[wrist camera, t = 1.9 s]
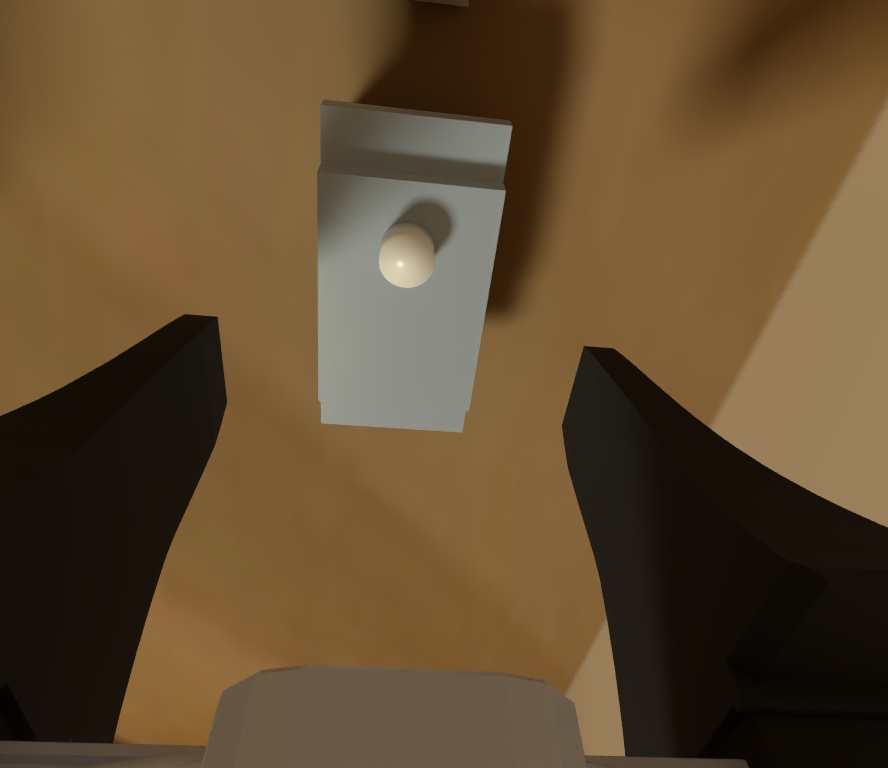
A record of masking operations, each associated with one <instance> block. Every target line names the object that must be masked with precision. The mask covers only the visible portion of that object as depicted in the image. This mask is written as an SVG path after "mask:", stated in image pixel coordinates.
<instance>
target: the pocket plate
mask: <svg viewBox="0 0 888 768" xmlns="http://www.w3.org/2000/svg"><path fill="white" fill-rule="evenodd" d="M414 1H422V2H430V3H438V4H447V5H455V6H463V7H469V0H414Z"/></svg>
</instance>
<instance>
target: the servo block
mask: <svg viewBox="0 0 888 768" xmlns="http://www.w3.org/2000/svg"><path fill="white" fill-rule="evenodd" d="M512 127H513V126H512V124H511V122H510V120H503V119H494V118H485V117H476V116H467V115H458V114H449V113H440V112H431V111H422V110H413V109H404V108H395V107H386V106H377V105H368V104H359V103H350V102H341V101H331V100H323V102H322V103H321V165H320V167H319V169H318V172H317V191H318V401H321V423H327V424H342V425H357V426H372V427H387V428H402V429H418V430H433V431H448V432H462V430H463V424H464V418H465V412H466V411H469V408H470V402H471V396H472V390H473V384H474V378H475V372H476V366H477V360H478V354H479V348H480V342H481V336H482V330H483V324H484V319H485V313H486V307H487V301H488V295H489V289H490V283H491V277H492V271H493V265H494V259H495V253H496V247H497V241H498V235H499V229H500V224H501V218H502V212H503V206H504V200H505V194H506V189H505V186H504V183H503V181H504V175H505V169H506V163H507V157H508V151H509V145H510V139H511V133H512Z"/></svg>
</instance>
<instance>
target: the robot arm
mask: <svg viewBox="0 0 888 768" xmlns="http://www.w3.org/2000/svg"><path fill="white" fill-rule="evenodd" d="M226 404H227V397H226V388H225V379H224V371H223V362H222V353H221V344H220V335H219V326H218V317H213V316H200V315H188V314H185V315H183V316H181V317H179V318H177V319H175V320H174V321H172V322H170V323H169V324H167V325H166V326H164V327H162V328H161V329H159V330H158V331H156V332H155V333H153V334H151V335H150V336H148V337H147V338H145V339H144V340H142V341H141V342H139V343H137V344H136V345H134V346H133V347H131V348H129V349H128V350H126V351H125V352H123V353H121V354H120V355H118V356H117V357H115V358H113V359H112V360H110V361H108V362H107V363H105V364H103V365H101V366H100V367H98V368H96V369H94V370H93V371H91V372H89V373H87V374H85V375H84V376H82V377H80V378H78V379H77V380H75V381H73V382H71V383H69V384H68V385H66V386H64V387H62V388H60V389H58V390H56V391H54V392H52V393H50V394H48V395H46V396H44V397H42V398H40V399H38V400H36V401H33V402H31V403H29V404H27V405H25V406H22V407H20V408H18V409H16V410H13V411H11V412H9V413H6V414H4V415H2V416H0V768H888V528H887V527H885V526H883V525H880V524H878V523H876V522H874V521H871V520H869V519H867V518H865V517H862V516H860V515H858V514H856V513H853V512H851V511H849V510H847V509H845V508H842V507H840V506H838V505H836V504H834V503H832V502H830V501H828V500H826V499H824V498H822V497H820V496H818V495H816V494H814V493H812V492H810V491H809V490H807V489H805V488H803V487H801V486H800V485H798V484H796V483H794V482H792V481H790V480H788V479H787V478H785V477H783V476H781V475H779V474H778V473H776V472H774V471H773V470H771V469H769V468H768V467H766V466H764V465H762V464H761V463H760V462H758V461H756V460H755V459H753V458H752V457H750V456H749V455H747V454H746V453H744V452H742V451H741V450H739V449H738V448H736V447H735V446H733V445H732V444H730V443H729V442H728V441H726V440H725V439H723V438H722V437H720V436H719V435H718V434H716V433H715V432H714V431H713V430H711V429H710V428H709V427H707V426H706V425H705V424H703V423H702V422H701V421H699V420H698V419H697V418H695V417H694V416H693V415H692V414H691V413H689V412H688V411H687V410H686V409H684V408H683V407H682V406H681V405H680V404H678V403H677V402H676V401H675V400H674V399H672V398H671V397H670V396H669V395H668V394H667V393H665V392H664V391H663V390H662V389H661V388H660V387H658V386H657V385H656V384H655V383H654V382H653V381H652V380H651V379H649V378H648V377H647V376H646V375H645V374H644V373H643V372H641V371H640V370H639V369H638V368H637V367H636V366H635V365H633V364H632V363H631V362H630V361H629V360H628V359H626V358H625V357H624V356H623V355H622V354H620V353H619V352H618V351H616V350H615V349H613V348H601V347H588V346H584V348H583V351H582V355H581V359H580V362H579V366H578V369H577V373H576V377H575V380H574V384H573V388H572V391H571V395H570V398H569V402H568V406H567V409H566V413H565V416H564V420H563V424H562V429H563V437H564V445H565V452H566V458H567V464H568V469H569V473H570V476H571V480H572V483H573V487H574V490H575V494H576V497H577V500H578V504H579V507H580V510H581V514H582V517H583V520H584V524H585V527H586V530H587V534H588V537H589V540H590V544H591V547H592V550H593V554H594V557H595V561H596V565H597V569H598V573H599V577H600V582H601V588H602V593H603V599H604V604H605V610H606V615H607V621H608V627H609V634H610V640H611V647H612V652H613V659H614V666H615V672H616V680H617V688H618V696H619V704H620V712H621V719H622V727H623V737H624V747H625V756H586V755H584V750H583V745H582V740H581V736H580V730H579V725H578V719H577V715H576V709H575V704H574V702H572V701H571V700H570V699H568V698H567V697H566V696H564V695H563V694H562V693H560V692H559V691H558V690H556V689H555V688H553V687H552V686H551V685H549V684H548V683H546V682H545V681H543V680H540V679H535V678H530V677H525V676H519V675H514V674H509V673H503V672H475V671H447V670H419V669H391V668H363V667H335V666H308V665H303V666H294V667H285V668H276V669H267V670H261V671H259V672H257V673H256V674H254V675H252V676H250V677H248V678H246V679H244V680H243V681H241V682H239V683H237V684H235V685H233V686H232V687H230V688H228V689H226V690H225V691H223V692H222V695H221V698H220V701H219V704H218V707H217V710H216V712H215V715H214V719H213V723H212V727H211V730H210V734H209V738H208V742H207V745H206V746H189V745H149V744H113V740H114V736H115V732H116V727H117V723H118V719H119V715H120V711H121V707H122V704H123V700H124V696H125V693H126V689H127V685H128V682H129V678H130V674H131V670H132V667H133V663H134V659H135V656H136V652H137V649H138V645H139V642H140V639H141V635H142V632H143V628H144V625H145V622H146V618H147V615H148V612H149V608H150V605H151V602H152V598H153V595H154V592H155V589H156V586H157V583H158V580H159V577H160V573H161V570H162V567H163V564H164V561H165V558H166V555H167V553H168V550H169V548H170V545H171V543H172V540H173V538H174V535H175V533H176V531H177V529H178V526H179V524H180V522H181V520H182V518H183V515H184V513H185V511H186V509H187V507H188V504H189V502H190V500H191V498H192V496H193V493H194V491H195V489H196V487H197V485H198V482H199V480H200V478H201V476H202V473H203V471H204V469H205V467H206V464H207V462H208V460H209V458H210V455H211V453H212V451H213V448H214V446H215V443H216V440H217V437H218V433H219V430H220V427H221V423H222V419H223V416H224V412H225V408H226Z"/></svg>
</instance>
